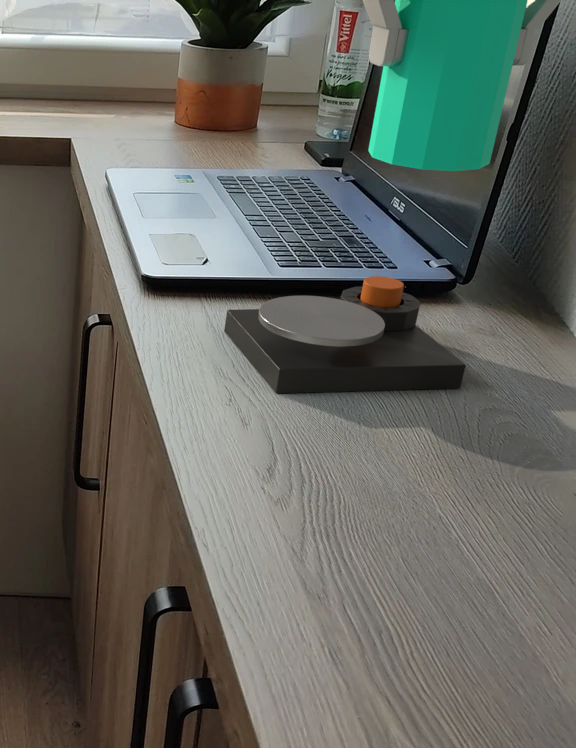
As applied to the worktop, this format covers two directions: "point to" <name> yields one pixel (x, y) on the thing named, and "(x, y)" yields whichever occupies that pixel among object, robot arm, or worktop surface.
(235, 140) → the worktop surface
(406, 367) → the scale
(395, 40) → the robot arm
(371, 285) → the tare button
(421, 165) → the candle
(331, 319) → the weighing pan
